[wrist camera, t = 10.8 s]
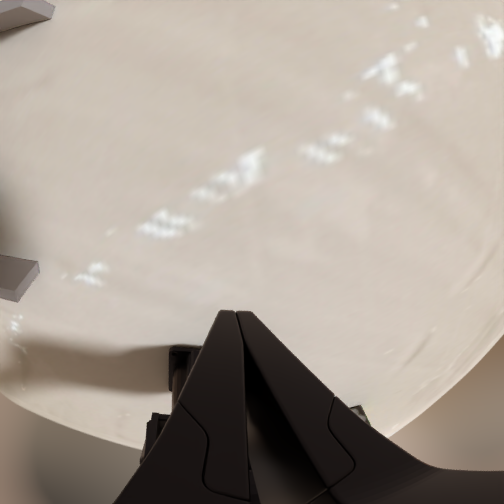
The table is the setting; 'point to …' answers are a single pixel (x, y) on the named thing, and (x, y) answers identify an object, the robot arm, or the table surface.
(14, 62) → the table surface
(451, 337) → the table surface
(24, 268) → the box
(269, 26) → the table surface
